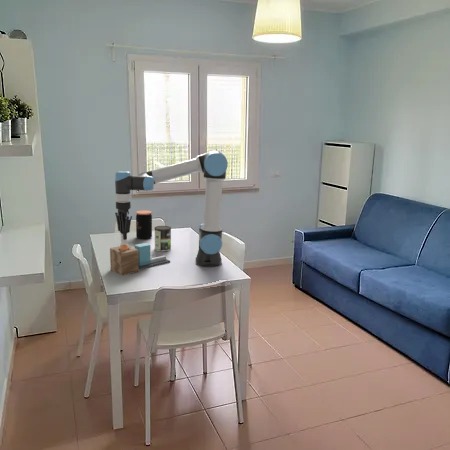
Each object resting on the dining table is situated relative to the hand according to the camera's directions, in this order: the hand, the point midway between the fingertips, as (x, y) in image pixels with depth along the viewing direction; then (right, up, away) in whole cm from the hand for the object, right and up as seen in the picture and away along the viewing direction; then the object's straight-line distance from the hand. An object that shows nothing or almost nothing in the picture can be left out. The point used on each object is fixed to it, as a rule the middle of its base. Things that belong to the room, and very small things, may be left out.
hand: (123, 244), depth 237 cm
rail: (+12, -12, +14) cm, 22 cm away
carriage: (+8, -11, +11) cm, 17 cm away
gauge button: (0, -6, +1) cm, 6 cm away
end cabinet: (0, -14, +3) cm, 14 cm away
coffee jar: (-2, +2, +69) cm, 69 cm away
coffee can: (+14, -5, +44) cm, 47 cm away
